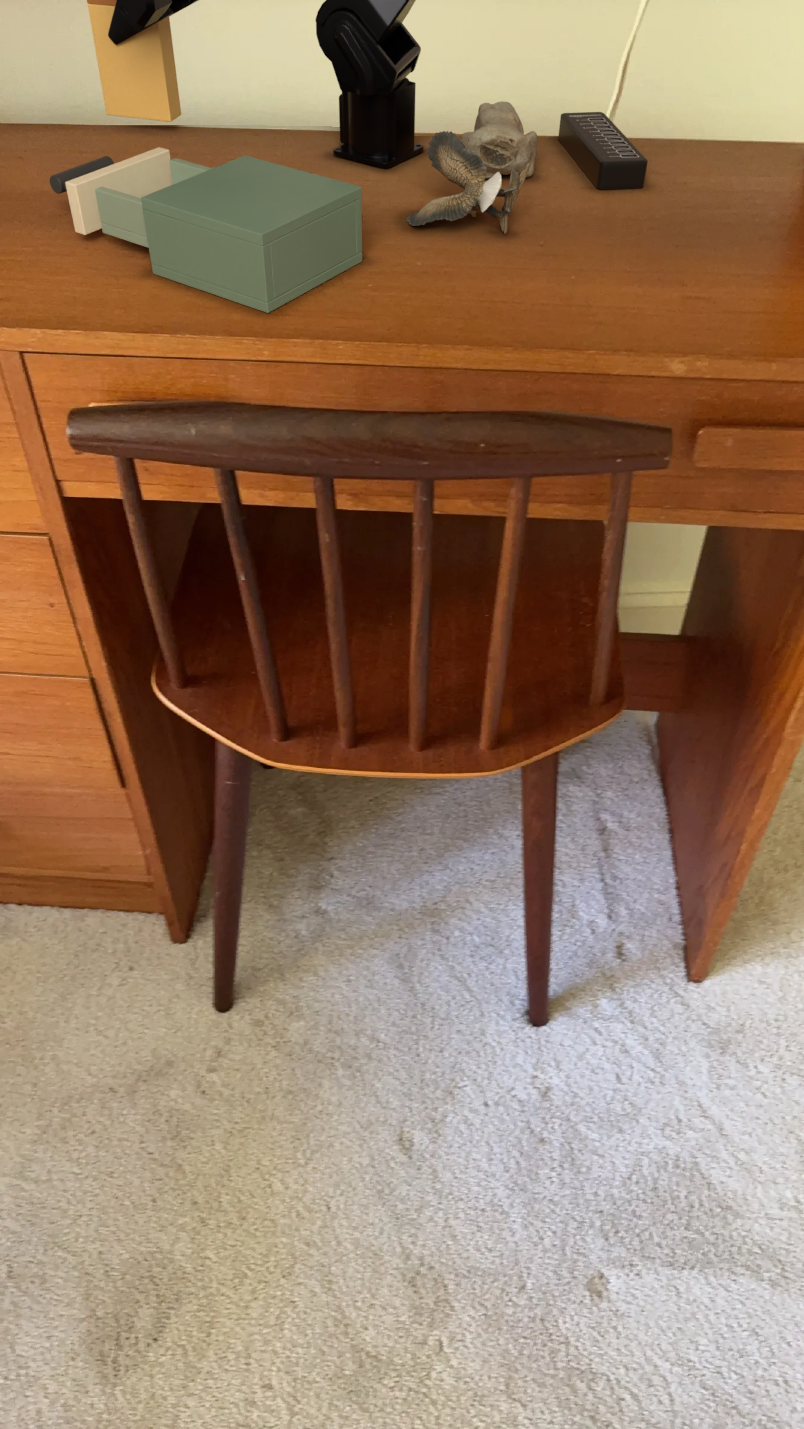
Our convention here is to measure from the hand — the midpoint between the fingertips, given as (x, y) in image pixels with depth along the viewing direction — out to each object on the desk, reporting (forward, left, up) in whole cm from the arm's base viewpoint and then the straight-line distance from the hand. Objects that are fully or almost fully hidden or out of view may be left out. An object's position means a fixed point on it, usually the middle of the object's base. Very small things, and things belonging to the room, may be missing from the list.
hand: (119, 36), depth 99 cm
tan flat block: (-1, 0, -7) cm, 7 cm away
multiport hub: (-42, -19, -8) cm, 47 cm away
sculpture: (-34, -13, -8) cm, 38 cm away
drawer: (-20, +19, -7) cm, 28 cm away
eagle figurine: (-40, +2, -8) cm, 41 cm away
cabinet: (-32, +19, -8) cm, 38 cm away
